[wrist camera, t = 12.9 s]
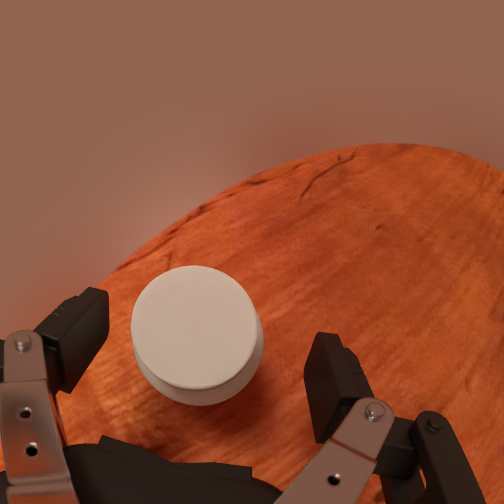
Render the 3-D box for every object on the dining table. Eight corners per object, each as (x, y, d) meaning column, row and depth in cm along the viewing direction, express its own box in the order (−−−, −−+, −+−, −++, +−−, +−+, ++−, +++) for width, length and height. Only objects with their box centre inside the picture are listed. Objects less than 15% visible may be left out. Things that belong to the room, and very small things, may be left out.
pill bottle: (198, 295, 19) (192, 216, 11) (265, 351, 18) (313, 313, 10) (138, 358, 16) (80, 324, 8) (206, 419, 15) (204, 444, 8)
